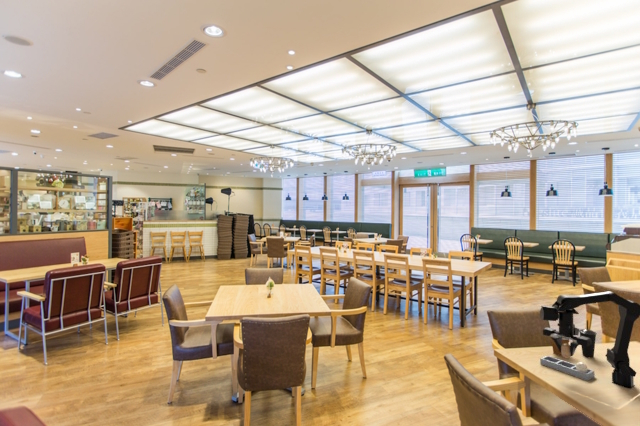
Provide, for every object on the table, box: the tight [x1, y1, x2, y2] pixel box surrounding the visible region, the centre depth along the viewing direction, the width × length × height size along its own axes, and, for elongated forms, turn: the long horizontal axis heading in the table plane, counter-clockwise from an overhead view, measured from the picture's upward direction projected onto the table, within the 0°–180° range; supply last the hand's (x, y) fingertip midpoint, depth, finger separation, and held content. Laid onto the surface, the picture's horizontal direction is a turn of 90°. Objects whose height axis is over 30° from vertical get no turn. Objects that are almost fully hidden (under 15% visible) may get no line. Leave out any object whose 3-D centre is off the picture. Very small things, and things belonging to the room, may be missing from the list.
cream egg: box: [575, 361, 588, 373], centre depth 159 cm, size 4×4×6 cm
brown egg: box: [561, 343, 572, 359], centre depth 157 cm, size 4×4×6 cm
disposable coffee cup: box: [549, 330, 570, 357], centre depth 185 cm, size 10×10×12 cm
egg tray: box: [539, 355, 596, 381], centre depth 164 cm, size 21×7×4 cm, turn 30°
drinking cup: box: [579, 320, 597, 359], centre depth 183 cm, size 8×8×20 cm
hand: (566, 354), depth 157 cm, fingers closed on brown egg, 4 cm apart
